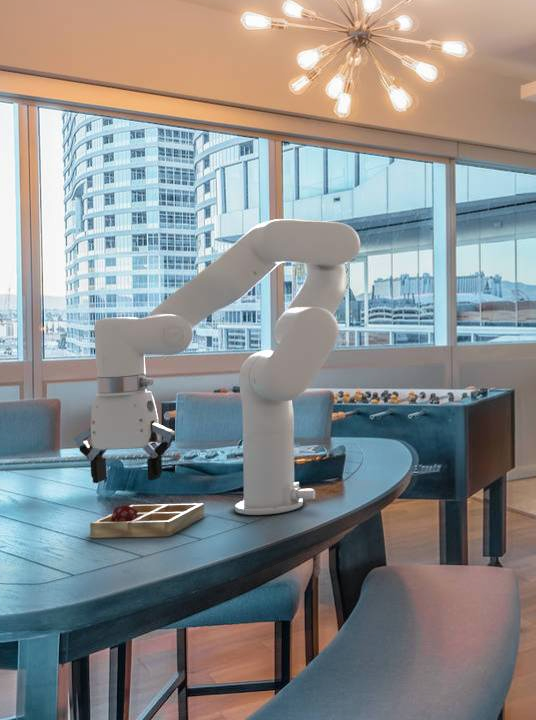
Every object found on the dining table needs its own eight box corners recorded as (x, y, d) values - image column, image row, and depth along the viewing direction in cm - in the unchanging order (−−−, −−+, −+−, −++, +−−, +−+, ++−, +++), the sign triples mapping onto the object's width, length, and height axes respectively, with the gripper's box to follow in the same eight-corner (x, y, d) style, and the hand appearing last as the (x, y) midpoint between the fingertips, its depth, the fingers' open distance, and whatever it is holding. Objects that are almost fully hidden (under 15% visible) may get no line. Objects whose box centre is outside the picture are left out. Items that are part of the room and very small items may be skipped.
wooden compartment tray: (204, 516, 155) (203, 503, 155) (169, 536, 141) (169, 521, 141) (131, 518, 154) (131, 504, 154) (90, 537, 141) (89, 523, 141)
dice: (129, 523, 147) (128, 501, 147) (141, 526, 145) (141, 504, 145) (107, 527, 144) (107, 505, 144) (120, 531, 142) (119, 508, 142)
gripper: (181, 381, 149) (185, 473, 149) (85, 385, 148) (90, 477, 148) (160, 386, 141) (166, 482, 142) (59, 390, 140) (65, 487, 141)
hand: (127, 480), depth 145 cm, fingers open, 9 cm apart
